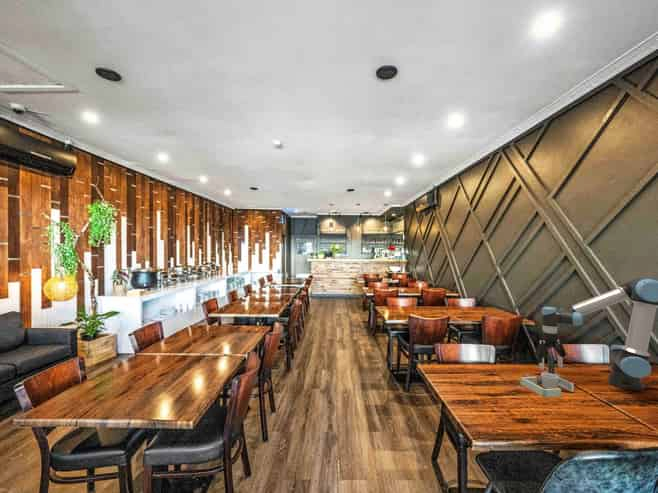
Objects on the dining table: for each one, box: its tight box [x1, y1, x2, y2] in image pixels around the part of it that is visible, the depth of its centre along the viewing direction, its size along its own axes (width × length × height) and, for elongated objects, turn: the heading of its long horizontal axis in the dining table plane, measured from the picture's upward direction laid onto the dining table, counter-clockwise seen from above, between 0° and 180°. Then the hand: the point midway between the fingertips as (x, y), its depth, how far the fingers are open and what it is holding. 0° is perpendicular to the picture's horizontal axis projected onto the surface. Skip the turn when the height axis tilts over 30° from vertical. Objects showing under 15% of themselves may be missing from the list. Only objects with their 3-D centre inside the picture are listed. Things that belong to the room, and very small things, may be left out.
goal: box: [519, 376, 562, 399], centre depth 170 cm, size 10×17×4 cm, turn 7°
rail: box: [522, 374, 564, 384], centre depth 183 cm, size 22×5×3 cm, turn 97°
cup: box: [540, 372, 563, 389], centre depth 171 cm, size 11×8×8 cm
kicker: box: [541, 354, 575, 392], centre depth 178 cm, size 6×20×15 cm, turn 7°
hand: (551, 367), depth 184 cm, fingers open, 12 cm apart
